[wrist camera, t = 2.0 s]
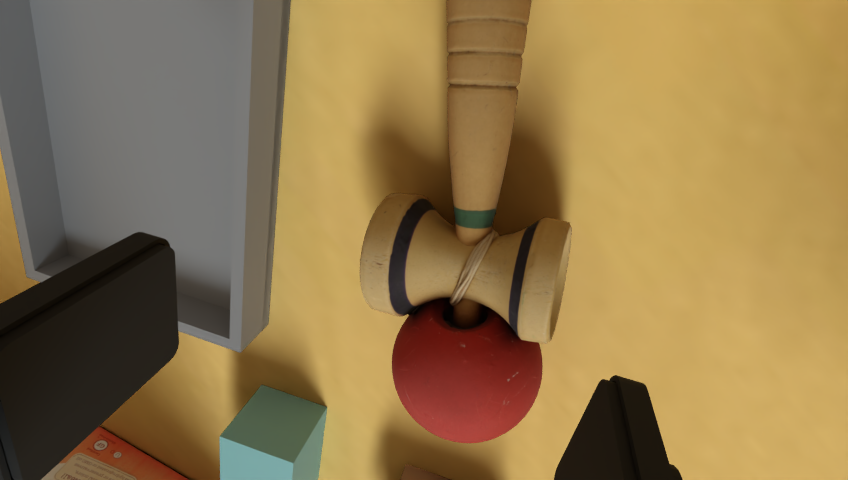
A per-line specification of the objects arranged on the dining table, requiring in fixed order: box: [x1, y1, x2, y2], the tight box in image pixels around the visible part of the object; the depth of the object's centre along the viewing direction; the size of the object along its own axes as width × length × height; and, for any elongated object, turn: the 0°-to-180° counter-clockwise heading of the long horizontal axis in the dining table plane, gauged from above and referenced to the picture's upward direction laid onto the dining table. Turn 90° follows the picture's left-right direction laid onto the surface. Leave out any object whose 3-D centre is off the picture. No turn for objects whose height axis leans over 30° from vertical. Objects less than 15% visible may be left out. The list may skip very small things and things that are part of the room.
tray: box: [0, 0, 291, 353], centre depth 20 cm, size 12×23×2 cm, turn 168°
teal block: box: [220, 385, 327, 480], centre depth 26 cm, size 4×6×4 cm, turn 169°
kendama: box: [360, 0, 572, 443], centre depth 17 cm, size 8×6×18 cm
